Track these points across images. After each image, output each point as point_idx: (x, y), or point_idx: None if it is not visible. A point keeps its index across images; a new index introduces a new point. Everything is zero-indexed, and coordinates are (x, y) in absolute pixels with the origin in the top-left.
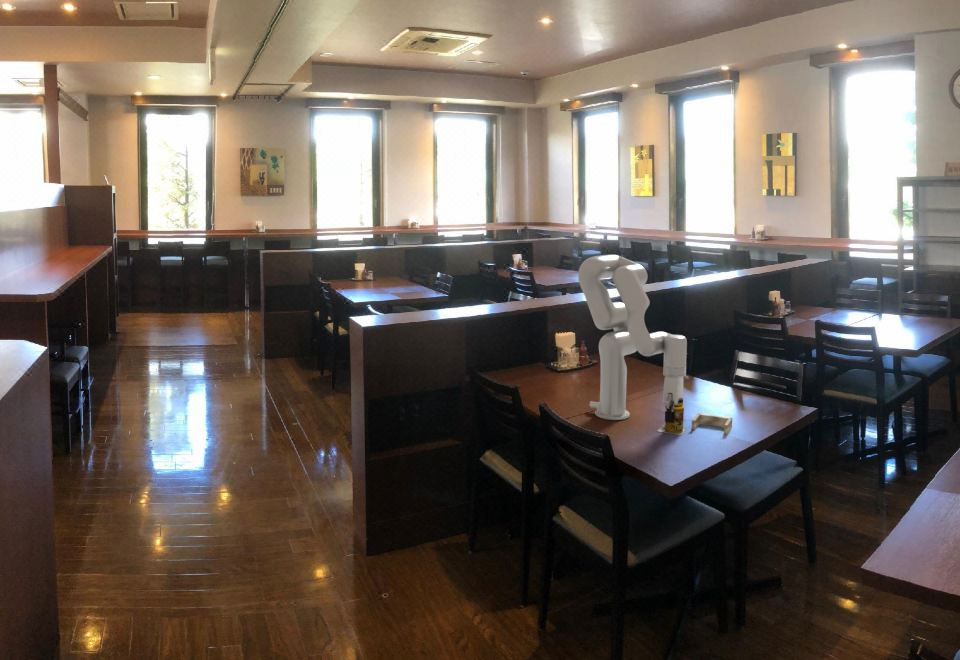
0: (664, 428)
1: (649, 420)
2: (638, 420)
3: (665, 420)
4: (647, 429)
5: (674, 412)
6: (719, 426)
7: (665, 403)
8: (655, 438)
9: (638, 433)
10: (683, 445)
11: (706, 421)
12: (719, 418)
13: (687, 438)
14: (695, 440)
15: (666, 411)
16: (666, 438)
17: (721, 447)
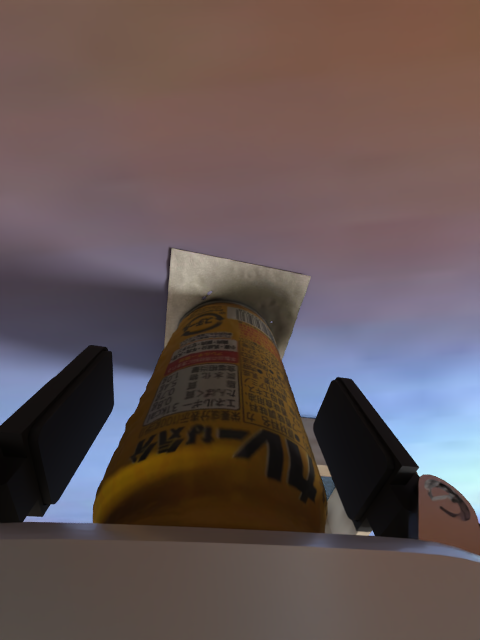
0: (249, 292)
1: (428, 164)
2: (433, 44)
3: (85, 354)
4: (195, 171)
5: (33, 506)
6: (334, 489)
7: (43, 534)
8: (21, 254)
9: (53, 93)
10: (10, 401)
11: None
12: (351, 528)
13: (129, 408)
14: (118, 435)
15: (8, 439)
16: (66, 319)
17: (87, 503)
